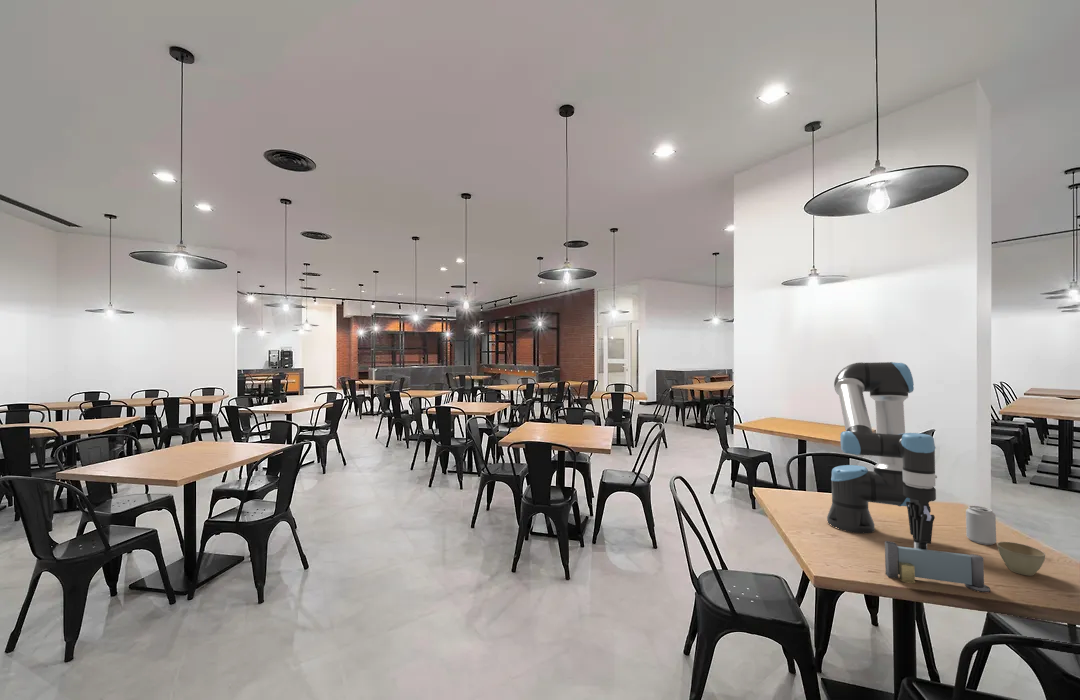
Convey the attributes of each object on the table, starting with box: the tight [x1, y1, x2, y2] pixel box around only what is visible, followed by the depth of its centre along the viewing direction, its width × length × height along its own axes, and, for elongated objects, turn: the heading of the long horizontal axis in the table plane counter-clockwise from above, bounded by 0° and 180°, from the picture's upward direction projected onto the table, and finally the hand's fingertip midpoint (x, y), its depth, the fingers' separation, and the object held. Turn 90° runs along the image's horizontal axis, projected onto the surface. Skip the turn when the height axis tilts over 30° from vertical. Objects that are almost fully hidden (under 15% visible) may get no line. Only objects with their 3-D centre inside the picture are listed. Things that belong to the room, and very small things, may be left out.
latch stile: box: [884, 540, 916, 584], centre depth 129 cm, size 6×4×10 cm
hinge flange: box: [964, 584, 991, 593], centre depth 124 cm, size 5×5×1 cm
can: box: [965, 505, 997, 546], centre depth 155 cm, size 8×8×12 cm
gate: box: [898, 545, 985, 587], centre depth 127 cm, size 20×3×8 cm, turn 69°
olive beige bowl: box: [996, 541, 1046, 577], centre depth 133 cm, size 10×10×7 cm
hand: (920, 562), depth 131 cm, fingers closed
